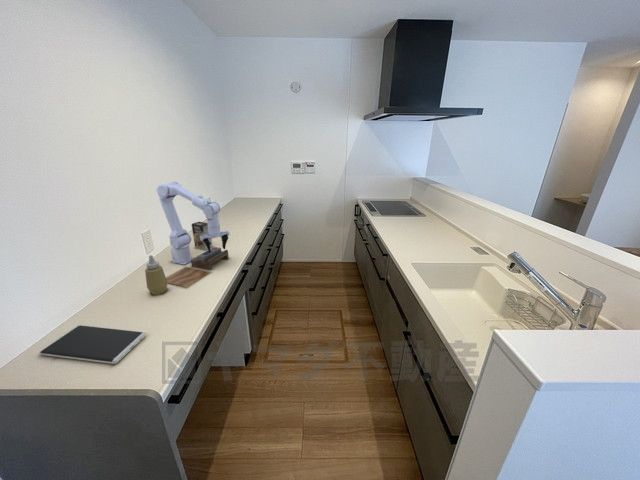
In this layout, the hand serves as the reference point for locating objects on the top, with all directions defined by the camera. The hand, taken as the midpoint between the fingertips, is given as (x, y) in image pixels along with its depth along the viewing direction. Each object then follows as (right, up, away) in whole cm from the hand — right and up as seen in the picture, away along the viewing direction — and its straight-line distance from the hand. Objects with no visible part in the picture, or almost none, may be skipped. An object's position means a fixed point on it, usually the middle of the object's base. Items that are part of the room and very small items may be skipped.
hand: (216, 250), depth 141 cm
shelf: (-6, -7, +8) cm, 12 cm away
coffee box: (-19, 0, +28) cm, 34 cm away
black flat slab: (-20, -30, -52) cm, 64 cm away
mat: (-12, -13, -8) cm, 20 cm away
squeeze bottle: (-18, -18, -21) cm, 33 cm away
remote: (-6, -4, +6) cm, 10 cm away
